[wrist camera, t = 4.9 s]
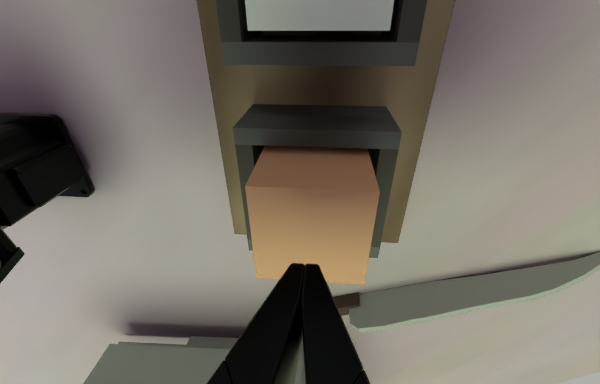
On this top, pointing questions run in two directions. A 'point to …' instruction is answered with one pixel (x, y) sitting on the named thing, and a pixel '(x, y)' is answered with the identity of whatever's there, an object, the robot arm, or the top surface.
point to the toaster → (167, 362)
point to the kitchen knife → (460, 294)
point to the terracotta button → (313, 211)
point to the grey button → (319, 15)
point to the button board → (325, 96)
